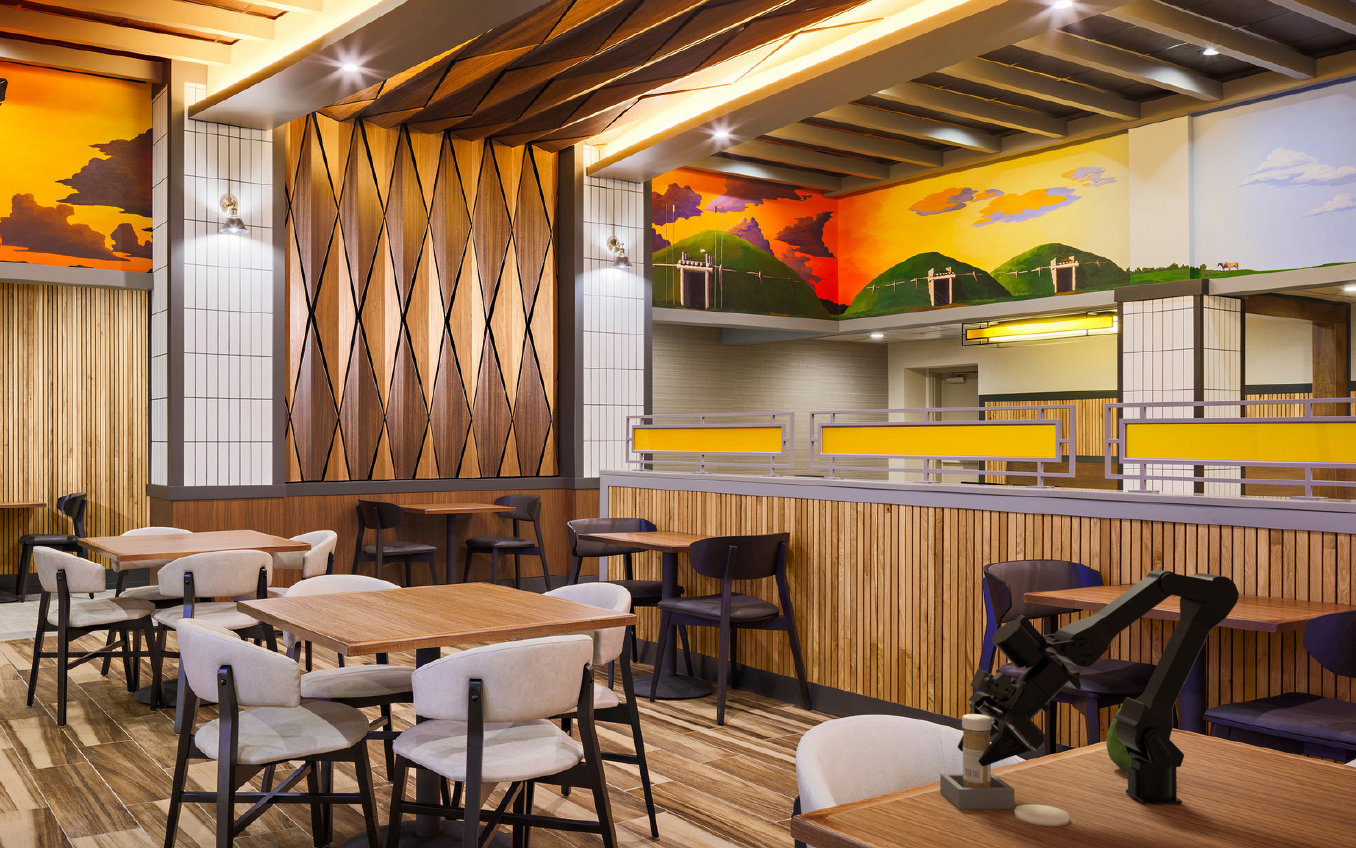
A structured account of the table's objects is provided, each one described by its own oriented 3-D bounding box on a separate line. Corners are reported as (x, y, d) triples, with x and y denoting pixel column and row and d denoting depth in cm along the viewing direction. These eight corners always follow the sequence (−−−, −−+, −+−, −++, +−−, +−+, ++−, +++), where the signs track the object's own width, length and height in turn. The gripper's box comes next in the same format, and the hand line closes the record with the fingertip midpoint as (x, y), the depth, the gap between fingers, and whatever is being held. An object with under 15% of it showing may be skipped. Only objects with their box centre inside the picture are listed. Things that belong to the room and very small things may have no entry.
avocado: (1135, 779, 185) (1135, 710, 185) (1097, 768, 192) (1097, 701, 192) (1164, 773, 189) (1163, 705, 189) (1126, 763, 196) (1125, 697, 196)
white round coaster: (1055, 809, 166) (1055, 804, 166) (1078, 826, 158) (1078, 820, 158) (1006, 809, 165) (1006, 804, 165) (1027, 826, 157) (1027, 820, 157)
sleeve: (993, 792, 175) (993, 773, 175) (1014, 808, 166) (1014, 789, 166) (940, 792, 174) (940, 773, 174) (958, 809, 165) (958, 789, 165)
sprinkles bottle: (997, 802, 169) (997, 717, 170) (978, 806, 167) (978, 720, 168) (974, 794, 173) (975, 712, 174) (955, 798, 171) (956, 714, 172)
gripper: (980, 644, 181) (917, 708, 180) (1026, 662, 163) (956, 734, 161) (1024, 690, 181) (961, 755, 180) (1075, 714, 163) (1005, 787, 161)
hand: (969, 756), depth 170 cm, fingers open, 9 cm apart
